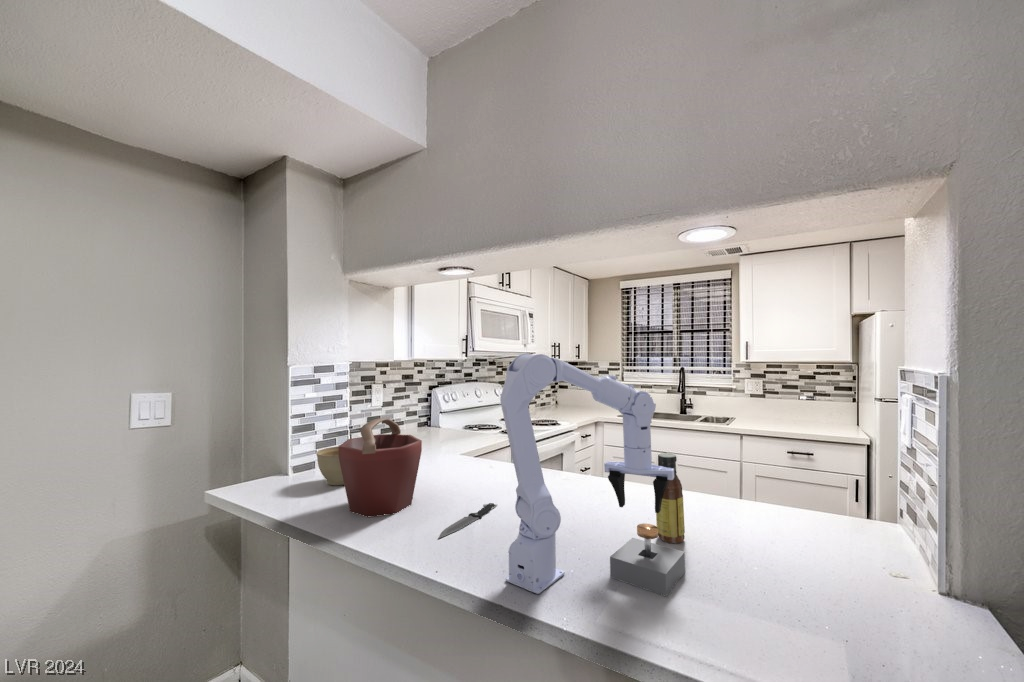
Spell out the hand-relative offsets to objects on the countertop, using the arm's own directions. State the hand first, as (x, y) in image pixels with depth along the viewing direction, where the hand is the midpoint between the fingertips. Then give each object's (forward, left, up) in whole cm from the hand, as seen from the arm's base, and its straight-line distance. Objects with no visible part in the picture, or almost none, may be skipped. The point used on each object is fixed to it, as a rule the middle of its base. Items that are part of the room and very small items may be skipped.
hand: (639, 508), depth 94 cm
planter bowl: (-10, +102, -11) cm, 103 cm away
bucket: (-16, +72, -11) cm, 74 cm away
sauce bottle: (+13, -2, -11) cm, 17 cm away
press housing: (-6, -4, -10) cm, 13 cm away
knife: (-8, +44, -11) cm, 46 cm away
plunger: (-6, -4, -7) cm, 10 cm away
